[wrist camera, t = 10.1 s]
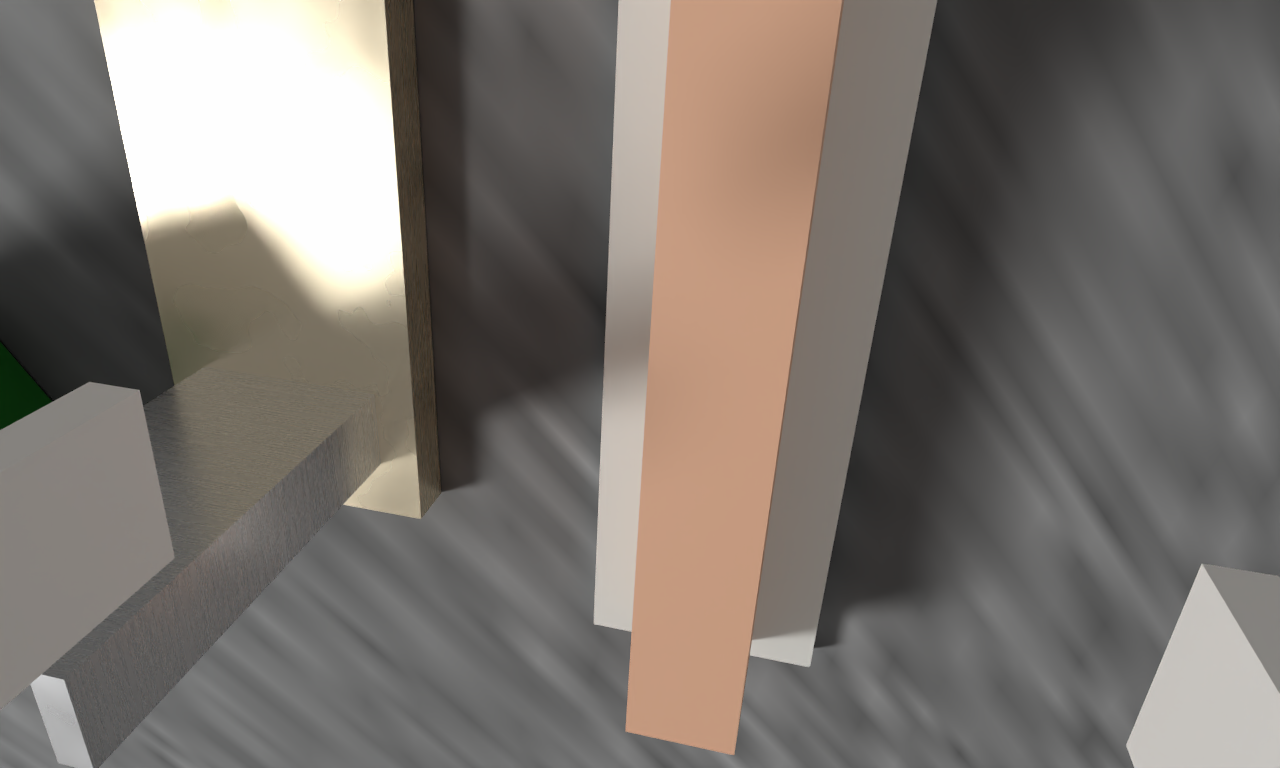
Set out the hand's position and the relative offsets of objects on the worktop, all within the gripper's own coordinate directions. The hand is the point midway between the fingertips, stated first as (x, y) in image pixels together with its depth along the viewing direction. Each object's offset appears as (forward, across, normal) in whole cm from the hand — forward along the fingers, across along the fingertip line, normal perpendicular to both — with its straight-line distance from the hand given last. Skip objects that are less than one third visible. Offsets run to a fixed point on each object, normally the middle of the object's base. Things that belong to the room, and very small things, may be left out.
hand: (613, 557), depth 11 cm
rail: (+13, 0, -1) cm, 13 cm away
